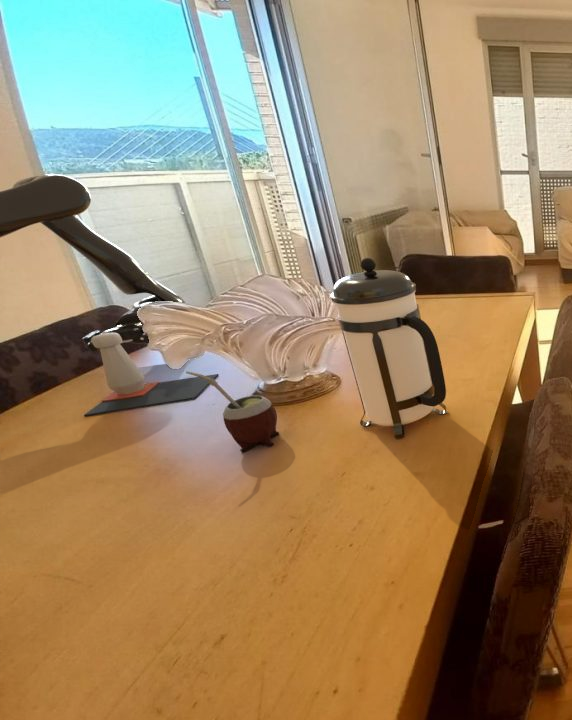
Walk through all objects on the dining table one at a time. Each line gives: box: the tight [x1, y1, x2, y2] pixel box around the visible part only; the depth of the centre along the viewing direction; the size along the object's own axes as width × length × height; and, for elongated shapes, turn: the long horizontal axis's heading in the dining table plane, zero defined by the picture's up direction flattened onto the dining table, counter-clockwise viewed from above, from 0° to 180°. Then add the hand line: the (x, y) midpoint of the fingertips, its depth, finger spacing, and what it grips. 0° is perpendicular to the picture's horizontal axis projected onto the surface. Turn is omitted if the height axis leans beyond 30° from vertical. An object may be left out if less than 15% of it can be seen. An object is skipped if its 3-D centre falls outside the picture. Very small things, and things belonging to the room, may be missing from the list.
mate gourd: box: [185, 370, 280, 454], centre depth 79 cm, size 8×8×15 cm
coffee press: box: [330, 257, 447, 439], centre depth 82 cm, size 17×16×30 cm
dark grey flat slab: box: [83, 373, 219, 417], centre depth 102 cm, size 18×13×1 cm
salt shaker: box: [91, 333, 146, 395], centre depth 100 cm, size 6×6×13 cm
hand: (120, 343), depth 103 cm, fingers open, 8 cm apart
